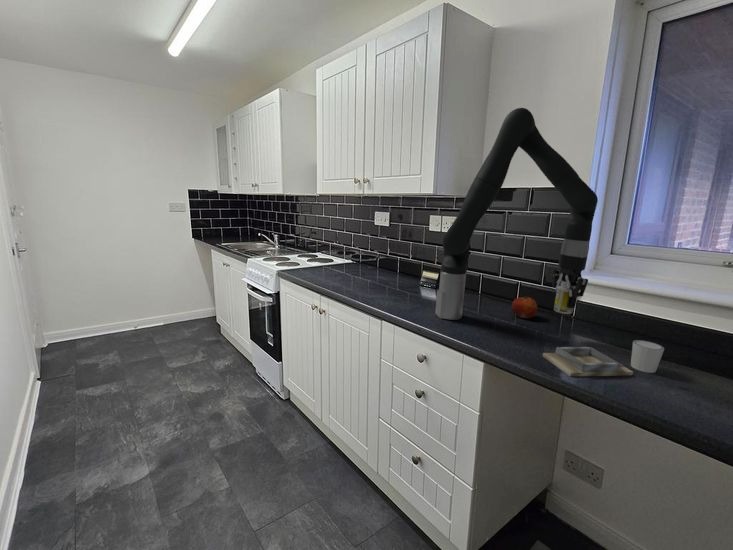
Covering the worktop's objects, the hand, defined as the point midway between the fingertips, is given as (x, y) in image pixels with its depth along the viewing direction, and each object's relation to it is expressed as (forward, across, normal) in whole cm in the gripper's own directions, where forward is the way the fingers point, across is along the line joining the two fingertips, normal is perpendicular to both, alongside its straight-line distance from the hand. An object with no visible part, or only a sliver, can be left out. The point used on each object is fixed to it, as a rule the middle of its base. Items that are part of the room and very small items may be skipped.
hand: (564, 304), depth 117 cm
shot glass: (+11, +22, +11) cm, 27 cm away
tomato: (+12, -21, -1) cm, 24 cm away
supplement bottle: (+3, 0, 0) cm, 3 cm away
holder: (+11, +20, -5) cm, 24 cm away
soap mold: (+99, +8, +3) cm, 100 cm away
